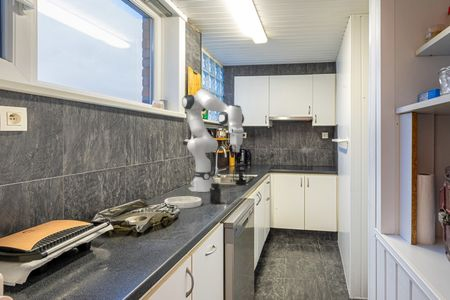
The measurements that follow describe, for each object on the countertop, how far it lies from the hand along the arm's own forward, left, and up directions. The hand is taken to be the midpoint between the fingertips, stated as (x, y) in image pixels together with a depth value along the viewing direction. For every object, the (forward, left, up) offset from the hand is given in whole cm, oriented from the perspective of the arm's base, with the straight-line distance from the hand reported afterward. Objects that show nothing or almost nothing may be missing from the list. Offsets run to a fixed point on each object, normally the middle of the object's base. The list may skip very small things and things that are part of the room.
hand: (236, 152), depth 209 cm
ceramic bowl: (+1, -36, -30) cm, 47 cm away
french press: (-55, +34, -30) cm, 71 cm away
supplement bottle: (+6, -18, -30) cm, 36 cm away
